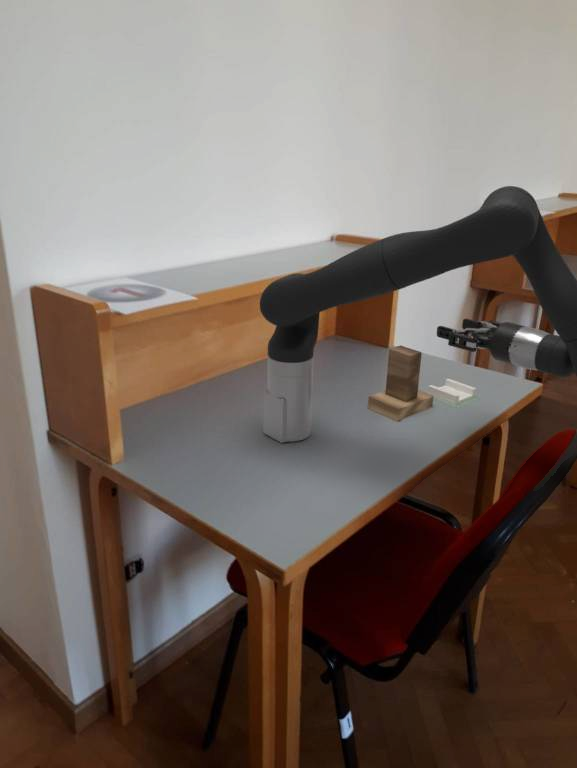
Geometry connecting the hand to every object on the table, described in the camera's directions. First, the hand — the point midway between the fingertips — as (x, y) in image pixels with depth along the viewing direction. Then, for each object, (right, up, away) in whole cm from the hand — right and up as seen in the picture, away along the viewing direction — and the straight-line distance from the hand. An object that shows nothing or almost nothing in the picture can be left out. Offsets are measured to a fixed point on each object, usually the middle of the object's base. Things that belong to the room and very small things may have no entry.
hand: (450, 327), depth 131 cm
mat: (+6, -15, +22) cm, 28 cm away
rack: (+6, -15, +22) cm, 27 cm away
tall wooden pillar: (-8, -14, +15) cm, 22 cm away
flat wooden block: (-8, -17, +16) cm, 25 cm away
